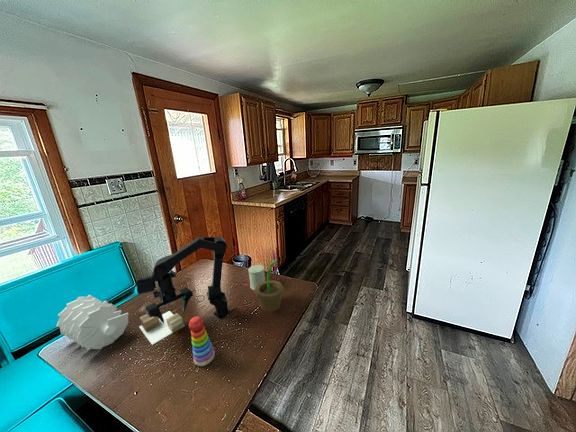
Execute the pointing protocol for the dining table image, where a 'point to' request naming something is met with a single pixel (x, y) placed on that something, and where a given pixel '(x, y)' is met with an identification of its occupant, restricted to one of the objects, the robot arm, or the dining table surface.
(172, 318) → the maple cube
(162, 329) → the white board
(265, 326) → the dining table surface
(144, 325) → the walnut block
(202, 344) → the stacking toy
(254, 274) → the can
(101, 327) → the spiral staircase
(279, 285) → the flowerpot
